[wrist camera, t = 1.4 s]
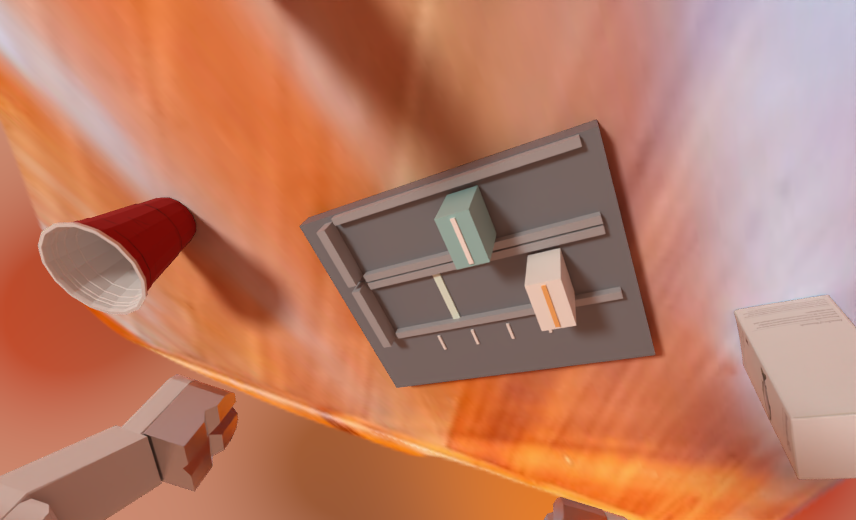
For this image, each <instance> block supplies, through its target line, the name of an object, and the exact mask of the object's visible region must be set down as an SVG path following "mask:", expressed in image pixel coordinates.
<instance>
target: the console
mask: <svg viewBox="0 0 856 520" xmlns="http://www.w3.org/2000/svg"><path fill="white" fill-rule="evenodd" d="M477 185H478V187H479V190H480V192H481V195H482V197H483V200H484V202H485V205H486V208H487V210H488V213H489V215H490V218H491V220H492V223H493V226H494V228H495V231H496V233H497V234H496V238H495V243H494V247H493V251H492V255H491V260H490V262H488V263H484V264H479V265H475V266H471V267H467V268H463V269H458V270H457V269H456V267H455V265H454V262H453V260H452V258H451V256H450V254H449V251H448V249H447V247H446V245H445V242H444V240H443V238H442V236H441V234H440V231H439V229H438V227H437V225H436V223H435V220H434V219H435V217H436V215H437V213H438V211H439V209H440V207H441V205H442V203H443V201H444V199H445V197H446V196H447V195H448V194H451V193H455V192H458V191H461V190H464V189H467V188H470V187H474V186H477ZM300 228H301V230H302V231H303V233H304V235H305V236H306V238H307V240H308V241H309V243H310V245H311V246H312V248H313V250H314V251H315V253H316V255H317V256H318V258H319V259H320V261H321V263H322V264H323V266H324V268H325V269H326V271H327V273H328V274H329V276H330V278H331V279H332V281H333V283H334V284H335V286H336V288H337V289H338V291H339V293H340V294H341V296H342V298H343V299H344V301H345V303H346V304H347V306H348V308H349V309H350V311H351V313H352V314H353V316H354V318H355V319H356V321H357V323H358V324H359V326H360V328H361V329H362V331H363V333H364V334H365V336H366V338H367V339H368V341H369V343H370V344H371V346H372V348H373V349H374V351H375V353H376V354H377V356H378V358H379V359H380V361H381V363H382V364H383V366H384V368H385V369H386V371H387V373H388V374H389V376H390V378H391V379H392V381H393V382H394V384H395V386H396V387H397V388H399V387H407V386H415V385H423V384H431V383H438V382H446V381H454V380H462V379H470V378H478V377H486V376H494V375H502V374H510V373H518V372H525V371H533V370H541V369H549V368H557V367H565V366H573V365H581V364H589V363H597V362H605V361H612V360H620V359H628V358H636V357H644V356H652V355H655V351H654V347H653V342H652V338H651V334H650V330H649V326H648V322H647V318H646V314H645V310H644V306H643V302H642V298H641V294H640V290H639V286H638V282H637V278H636V274H635V270H634V266H633V262H632V258H631V254H630V250H629V246H628V242H627V238H626V234H625V230H624V226H623V222H622V218H621V214H620V210H619V206H618V202H617V198H616V194H615V190H614V186H613V182H612V178H611V174H610V170H609V166H608V162H607V158H606V154H605V150H604V146H603V142H602V138H601V134H600V130H599V126H598V123H597V120H594V121H591V122H588V123H585V124H582V125H579V126H576V127H573V128H570V129H567V130H564V131H561V132H558V133H556V134H553V135H550V136H547V137H544V138H541V139H538V140H535V141H532V142H529V143H526V144H523V145H520V146H517V147H514V148H512V149H509V150H506V151H503V152H500V153H497V154H494V155H491V156H488V157H485V158H482V159H479V160H476V161H473V162H470V163H468V164H465V165H462V166H459V167H456V168H453V169H450V170H447V171H444V172H441V173H438V174H435V175H432V176H429V177H427V178H424V179H421V180H418V181H415V182H412V183H409V184H406V185H403V186H400V187H397V188H394V189H391V190H388V191H385V192H383V193H380V194H377V195H374V196H371V197H368V198H365V199H362V200H359V201H356V202H353V203H350V204H347V205H344V206H341V207H339V208H336V209H333V210H330V211H327V212H324V213H321V214H318V215H315V216H312V217H309V218H308V219H307V220H306V221H304V222H303V223H302V224H301V225H300ZM558 248H560V249H561V252H562V255H563V258H564V261H565V264H566V267H567V270H568V273H569V277H570V280H571V283H572V286H573V289H574V292H575V309H576V326H571V327H565V328H559V329H552V330H546V331H541V328H540V325H539V323H538V320H537V317H536V315H535V312H534V310H533V307H532V304H531V302H530V299H529V296H528V294H527V291H526V289H525V277H526V267H527V257H528V255H532V254H536V253H541V252H545V251H549V250H553V249H558Z"/></svg>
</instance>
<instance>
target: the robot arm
mask: <svg viewBox="0 0 856 520" xmlns="http://www.w3.org/2000/svg"><path fill="white" fill-rule="evenodd" d="M235 402H236V398H235V393H233V392H230V391H227V390H224V389H220V388H217V387H214V386H211V385H208V384H205V383H202V382H199V381H197V380H194V379H191V378H188V377H184V376H181V375H178V374H177V375H175V376H173V377H171V378H170V379H168V380H167V381H166V382H165V383H164V385H162V386H161V388H159V389H158V391H157V392H155V394H154V395H153V396H152V397H151V398H150V399H149V400H148V401H147V402H146V403H145V404H144V405H143V406H142V407H141V408H140V409H139V410H138V411H137V412H136V413H135V414H134V415H133V416H132V417H131V418H130V419H129V420H128V421H127V422H126V423H125V424H124V425H123V426H122V427H120V426H113V427H111V428H109V429H106V430H104V431H102V432H100V433H98V434H95V435H93V436H91V437H88V438H86V439H84V440H81V441H79V442H77V443H75V444H72V445H70V446H68V447H65V448H63V449H61V450H59V451H56V452H54V453H52V454H50V455H47V456H45V457H43V458H40V459H38V460H36V461H33V462H31V463H29V464H27V465H24V466H22V467H20V468H18V469H15V470H13V471H11V472H8V473H6V474H4V475H2V476H0V520H106V519H107V518H109V517H110V516H112V515H113V514H115V513H117V512H118V511H120V510H121V509H123V508H124V507H126V506H127V505H129V504H131V503H132V502H134V501H135V500H137V499H138V498H140V497H142V496H143V495H145V494H146V493H148V492H149V491H151V490H152V489H154V488H155V487H157V486H159V485H160V484H161V483H162V482H161V481H163V482H166V483H169V484H172V485H175V486H179V487H182V488H185V489H188V490H191V491H195V490H196V488H197V487H198V486H199V485H200V483H201V482H202V480H203V479H204V478H205V476H206V475H207V473H208V472H209V471H210V469H211V468H212V465H213V456H214V455H216V454H218V453H219V452H221V451H223V450H224V449H225V448H226V447H227V445H228V444H229V442H230V441H231V439H232V437H233V435H234V432H235V430H236V428H237V423H238V413H237V412H236V411H235V409H234V408H233V405H234V404H235ZM553 507H554V508H553V510H554V511H553V512H552V513H549V514H547V515H546V517H545V519H544V520H627V519H626V518H625V517H623V516H619V515H616V514H613V513H610V512H606V511H603V510H602V509H598V508H595V507H592V506H588V505H585V504H582V503H578V502H575V501H572V500H568V499H565V498H562V497H559V498H557V499H556V501H555V502H554V505H553Z"/></svg>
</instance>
